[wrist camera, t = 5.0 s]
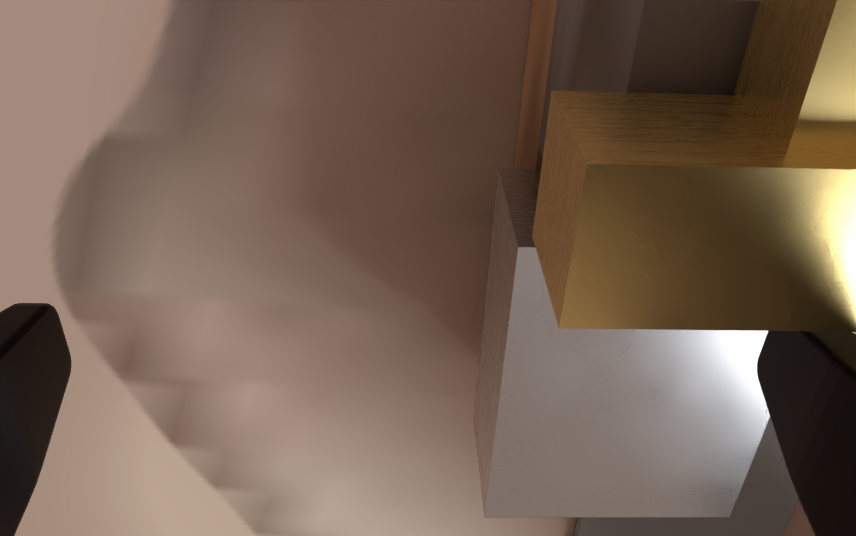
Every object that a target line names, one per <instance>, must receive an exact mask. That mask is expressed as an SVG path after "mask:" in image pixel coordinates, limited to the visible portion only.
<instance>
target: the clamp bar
mask: <svg viewBox="0 0 856 536" xmlns="http://www.w3.org/2000/svg"><path fill="white" fill-rule="evenodd" d="M532 237H533V240H534V244H535V247H536V251H537V254H538V258H539V261H540V265H541V268H542V272H543V275H544V278H545V282H546V285H547V289H548V292H549V296H550V299H551V303H552V306H553V310H554V313H555V317H556V320H557V324H558V327H559V329H647V330H738V331H829V332H856V0H760V2H759V5H758V9H757V12H756V16H755V20H754V23H753V27H752V31H751V34H750V38H749V41H748V45H747V49H746V52H745V56H744V60H743V63H742V67H741V70H740V74H739V78H738V81H737V85H736V89H735V92H734V95H703V94H665V93H626V92H588V91H551V99H550V106H549V114H548V121H547V129H546V136H545V144H544V151H543V158H542V166H541V173H540V181H539V188H538V196H537V203H536V210H535V218H534V225H533V233H532Z"/></svg>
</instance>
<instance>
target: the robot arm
mask: <svg viewBox="0 0 856 536" xmlns="http://www.w3.org/2000/svg"><path fill="white" fill-rule="evenodd" d="M70 372H71V356H70V352H69V348H68V345H67V342H66V338H65V335H64V332H63V328H62V325H61V322H60V318H59V315H58V313H57V311H56V309H55V308H54V307H53V306H52V305H50V304H47V303H18V304H14V305H12V306H11V307H9V308H7V309H5V310H3V311H1V312H0V536H14V535H15V533H16V530H17V528H18V526H19V523H20V521H21V519H22V517H23V514H24V512H25V510H26V508H27V505H28V503H29V500H30V498H31V496H32V493H33V491H34V488H35V486H36V483H37V481H38V478H39V475H40V472H41V469H42V466H43V463H44V459H45V456H46V453H47V449H48V446H49V443H50V439H51V436H52V433H53V429H54V426H55V422H56V420H57V416H58V413H59V409H60V406H61V403H62V400H63V397H64V393H65V390H66V387H67V383H68V380H69V376H70ZM757 376H758V380H759V383H760V386H761V389H762V393H763V396H764V399H765V402H766V405H767V408H768V411H769V414H770V418H771V421H772V424H773V427H774V430H775V433H776V436H777V440H778V443H779V446H780V449H781V452H782V455H783V458H784V461H785V465H786V467H787V470H788V473H789V476H790V479H791V481H792V484H793V486H794V488H795V491H796V493H797V496H798V498H799V500H800V503H801V505H802V507H803V509H804V511H805V514H806V516H807V518H808V520H809V523H810V525H811V527H812V529H813V532H814V534H815V536H856V334H854V333H852V332H829V331H768V333H767V335H766V338H765V341H764V343H763V346H762V349H761V352H760V354H759V357H758V361H757Z"/></svg>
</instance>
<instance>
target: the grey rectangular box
mask: <svg viewBox="0 0 856 536" xmlns="http://www.w3.org/2000/svg"><path fill="white" fill-rule="evenodd" d="M540 173H541V170H531V169H498V178H497V188H496V198H495V208H494V219H493V229H492V239H491V249H490V259H489V269H488V279H487V289H486V299H485V309H484V319H483V329H482V339H481V349H480V359H479V369H478V379H477V389H476V399H475V409H474V428H475V436H476V445H477V454H478V463H479V471H480V480H481V489H482V498H483V506H484V515H485V517H730V515H731V512H732V510H733V507H734V505H735V502H736V500H737V497H738V495H739V493H740V490H741V488H742V485H743V483H744V480H745V478H746V475H747V473H748V470H749V468H750V465H751V463H752V460H753V458H754V455H755V453H756V450H757V448H758V445H759V443H760V441H761V438H762V436H763V433H764V431H765V428H766V426H767V423H768V421H769V418H770V414H769V411H768V408H767V405H766V402H765V399H764V396H763V393H762V389H761V386H760V383H759V380H758V376H757V361H758V357H759V354H760V352H761V349H762V346H763V343H764V341H765V338H766V335H767V333H768V331H738V330H647V329H559V327H558V324H557V320H556V317H555V313H554V310H553V306H552V303H551V299H550V296H549V292H548V289H547V285H546V282H545V278H544V275H543V272H542V268H541V265H540V261H539V258H538V254H537V251H536V247H535V244H534V240H533V237H532V233H533V225H534V218H535V210H536V203H537V196H538V188H539V181H540Z"/></svg>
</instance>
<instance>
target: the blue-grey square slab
mask: <svg viewBox="0 0 856 536" xmlns="http://www.w3.org/2000/svg"><path fill="white" fill-rule="evenodd" d="M798 500H799V498H798V496H797V493H796V491H795V488H794V486H793V484H792V481H791V479H790V476H789V473H788V470H787V467H786V465H785V461H784V458H783V455H782V452H781V449H780V446H779V443H778V440H777V436H776V433H775V430H774V427H773V424H772V421H771V418H769V421H768V423H767V426H766V428H765V431H764V433H763V436H762V438H761V441H760V443H759V445H758V448H757V450H756V453H755V455H754V458H753V460H752V463H751V465H750V468H749V470H748V473H747V475H746V478H745V480H744V483H743V485H742V488H741V490H740V493H739V495H738V497H737V500H736V502H735V505H734V507H733V510H732V512H731V515H730V517H578V519H577V523H576V528H575V532H574V536H782V534H783V531H784V529H785V527H786V525H787V523H788V521H789V519H790V517H791V515H792V512H793V510H794V508H795V506H796V504H797V502H798Z"/></svg>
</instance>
